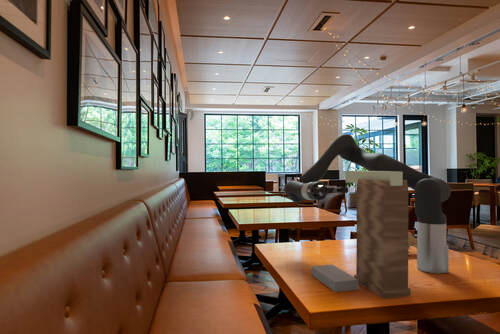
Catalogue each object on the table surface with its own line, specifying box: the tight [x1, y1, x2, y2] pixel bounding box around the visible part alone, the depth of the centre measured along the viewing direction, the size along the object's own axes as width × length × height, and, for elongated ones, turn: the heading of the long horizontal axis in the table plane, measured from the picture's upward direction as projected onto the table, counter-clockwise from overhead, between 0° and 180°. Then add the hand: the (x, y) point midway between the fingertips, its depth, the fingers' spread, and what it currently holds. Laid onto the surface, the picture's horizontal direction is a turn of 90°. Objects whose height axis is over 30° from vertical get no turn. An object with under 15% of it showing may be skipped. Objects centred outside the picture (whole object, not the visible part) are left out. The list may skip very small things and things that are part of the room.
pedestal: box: [353, 179, 412, 300], centre depth 100 cm, size 15×9×34 cm, turn 15°
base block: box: [310, 263, 359, 293], centre depth 106 cm, size 16×8×3 cm, turn 15°
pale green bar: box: [345, 170, 403, 186], centre depth 105 cm, size 24×4×4 cm, turn 15°
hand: (337, 189), depth 120 cm, fingers open, 8 cm apart
